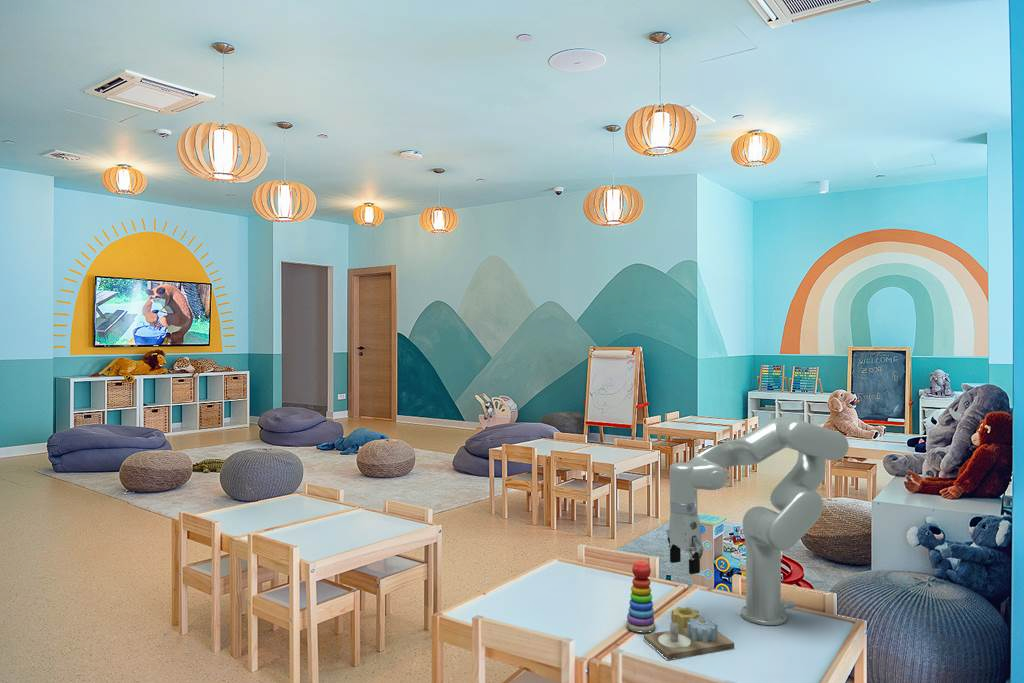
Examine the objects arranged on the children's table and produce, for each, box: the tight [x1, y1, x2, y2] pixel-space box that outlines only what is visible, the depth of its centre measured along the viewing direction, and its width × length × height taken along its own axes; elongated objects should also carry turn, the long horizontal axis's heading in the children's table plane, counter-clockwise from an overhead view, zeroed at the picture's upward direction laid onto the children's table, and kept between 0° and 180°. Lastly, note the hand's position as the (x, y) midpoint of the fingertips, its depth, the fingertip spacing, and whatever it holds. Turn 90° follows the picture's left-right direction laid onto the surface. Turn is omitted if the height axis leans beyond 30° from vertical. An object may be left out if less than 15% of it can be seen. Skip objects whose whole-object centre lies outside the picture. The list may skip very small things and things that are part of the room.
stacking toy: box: [626, 560, 656, 633], centre depth 195 cm, size 8×8×19 cm
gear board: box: [643, 617, 735, 660], centre depth 185 cm, size 20×12×6 cm, turn 108°
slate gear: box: [687, 616, 718, 643], centre depth 186 cm, size 8×8×4 cm
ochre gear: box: [670, 606, 700, 629], centre depth 197 cm, size 8×8×4 cm
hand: (684, 567), depth 197 cm, fingers open, 9 cm apart
